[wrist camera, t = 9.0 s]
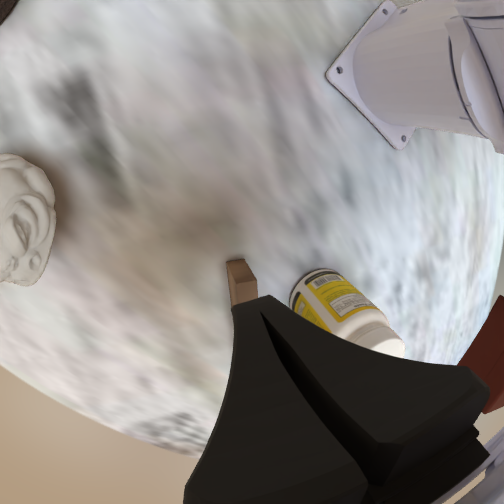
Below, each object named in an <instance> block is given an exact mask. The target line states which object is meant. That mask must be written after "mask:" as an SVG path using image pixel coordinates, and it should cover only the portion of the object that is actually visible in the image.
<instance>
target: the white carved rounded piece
mask: <svg viewBox="0 0 504 504" xmlns="http://www.w3.org/2000/svg"><path fill="white" fill-rule="evenodd" d="M54 203H55V194H54V189H53V187H52V185H51V183H50V181H49V180H48V179H47V176H46V174H45V172H44V171H43V170H42V169H41V168H39V167H36V166H35V165H33V164H31V163H29V162H27V161H26V160H24V159H23V158H22V157H20V156H18V155H15V154H10V153H4V154H0V282H2V281H7V282H9V283H10V282H13V283H14V284H18V285H21V286H31V285H33V284H35V283H36V282H37V281H38V279H39V278H40V277H41V275H42V274H43V272H44V270H45V267H46V264H47V262H48V259H49V256H50V252H51V246H52V242H53V238H54V234H55V228H56V221H57V219H56V212H55V210H53V209H54Z"/></svg>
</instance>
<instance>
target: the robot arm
mask: <svg viewBox="0 0 504 504" xmlns="http://www.w3.org/2000/svg"><path fill="white" fill-rule="evenodd" d="M383 11H384V13H385V14H384V13H383ZM337 67H338V68H339V69H340V74H339V73H337V71H336V68H337ZM326 77H327V79H328V80H329V81H330V82H331V83H332V84H333V85H334V86H335V87H336V88H337V89H338V90H339V91H340V92H341V93H342V94H343V95H345V96H346V97H347V98H348V99H349V100H350V101H351V102H352V103H353V104H354V105H355V106H356V107H357V108H358V109H359V110H360V111H361V112H362V113H363V114H364V115H365V116H366V117H367V119H368V120H369V121H370V122H371V123H372V124H373V125H374V126H375V127H376V128H377V129H378V130H379V131H380V132H381V134H382V135H383V136H384V137H385V138H386V139H387V140H388V141H389V142H390V144H391V145H392V146H393V147H394V148H395V149H396V150H402V149H403V148H404V147H405V145H406V144H407V142H408V141H409V139H410V137H411V136H412V134H413V132H414V131H415V129H416V127H418V128H426V129H433V130H440V131H447V132H453V133H459V134H465V135H471V136H476V137H481V138H486V139H489V140H490V141H491V142H492V143H493V146H494V148H495V151H496V152H497V153H501V154H504V0H423V1H420V2H417V3H413V4H410V5H407V6H403V7H400V8H397V7H396V5H395V4H394V3H393V2H391V1H390V0H386V1H384V2H383V3H382V4H381V5H380V6H379V7H378V9H377V10H376V11H375V12H374V13H373V15H372V16H371V17H370V18H369V19H368V21H367V22H366V23H365V24H364V26H363V27H362V28H361V29H360V30H359V32H358V33H357V34H356V35H355V37H354V38H353V39H352V40H351V42H350V43H349V44H348V45H347V47H346V48H345V49H344V50H343V52H342V53H341V54H340V55H339V57H338V58H337V59H336V60H335V62H334V63H333V64H332V66H331V67H330V68H329V69H328V71H327V73H326ZM401 137H403V140H401ZM231 311H232V315H233V319H234V344H233V354H232V362H231V369H230V374H229V379H228V384H227V388H226V392H225V396H224V399H223V402H222V406H221V409H220V412H219V415H218V418H217V421H216V424H215V426H214V429H213V431H212V433H211V436H210V438H209V440H208V443H207V445H206V447H205V450H204V452H203V454H202V456H201V458H200V460H199V462H198V463H197V465H196V467H195V469H194V471H193V473H192V474H191V476H190V478H189V480H188V482H187V483H186V485H185V490H184V500H183V504H442V503H444V502H445V501H446V500H448V499H449V498H451V497H452V496H453V495H454V494H456V493H457V492H458V491H460V490H461V489H462V488H463V487H465V486H466V485H467V484H468V483H469V482H471V481H472V480H473V479H474V478H476V477H477V476H478V475H479V474H480V473H481V472H482V471H483V470H484V469H486V471H485V478H484V479H483V480H482V481H481V482H480V483H479V484H478V485H476V486H475V487H474V488H473V489H472V490H470V491H469V492H468V493H467V494H466V495H465V496H463V497H462V498H461V499H460V500H458V501H457V502H456V503H454V504H504V427H503V428H502V429H501V430H500V431H499V432H498V433H497V434H496V435H495V436H494V437H493V438H492V439H490V440H489V441H488V442H487V443H486V444H485V445H484V446H483V445H482V444H481V443H480V442H479V441H478V440H477V439H476V438H477V437H478V435H479V431H478V430H477V429H476V428H475V427H474V425H473V424H474V423H475V421H476V420H477V418H478V416H479V415H480V413H481V412H482V410H483V409H484V407H485V405H486V403H487V401H488V399H489V396H490V387H489V386H488V385H487V384H486V383H485V382H484V381H483V380H482V379H481V378H480V377H479V376H478V375H476V374H475V373H474V372H473V371H472V370H471V369H470V368H469V367H467V366H456V365H443V364H432V363H425V362H419V361H414V360H408V359H404V358H399V357H395V356H391V355H388V354H384V353H381V352H377V351H374V350H371V349H368V348H365V347H362V346H360V345H357V344H355V343H352V342H349V341H347V340H345V339H342V338H340V337H338V336H336V335H334V334H332V333H330V332H328V331H326V330H324V329H322V328H321V327H319V326H317V325H315V324H314V323H312V322H310V321H309V320H307V319H305V318H304V317H302V316H300V315H299V314H297V313H296V312H294V311H293V310H291V309H290V308H288V307H287V306H286V305H284V304H283V303H281V302H280V301H278V300H277V299H276V298H274V297H273V296H271V295H266V296H263V297H260V298H256V299H253V300H250V301H246V302H243V303H239V304H236V305H233V307H232V308H231Z"/></svg>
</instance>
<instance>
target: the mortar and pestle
mask: <svg viewBox="0 0 504 504" xmlns="http://www.w3.org/2000/svg"><path fill="white" fill-rule="evenodd" d="M15 1H16V0H0V23H1V22H2V20H3V19H4V18H5V17H6V15H7V14H8V13H9V12H10V10H11V8H12V7H13V5H14V3H15Z"/></svg>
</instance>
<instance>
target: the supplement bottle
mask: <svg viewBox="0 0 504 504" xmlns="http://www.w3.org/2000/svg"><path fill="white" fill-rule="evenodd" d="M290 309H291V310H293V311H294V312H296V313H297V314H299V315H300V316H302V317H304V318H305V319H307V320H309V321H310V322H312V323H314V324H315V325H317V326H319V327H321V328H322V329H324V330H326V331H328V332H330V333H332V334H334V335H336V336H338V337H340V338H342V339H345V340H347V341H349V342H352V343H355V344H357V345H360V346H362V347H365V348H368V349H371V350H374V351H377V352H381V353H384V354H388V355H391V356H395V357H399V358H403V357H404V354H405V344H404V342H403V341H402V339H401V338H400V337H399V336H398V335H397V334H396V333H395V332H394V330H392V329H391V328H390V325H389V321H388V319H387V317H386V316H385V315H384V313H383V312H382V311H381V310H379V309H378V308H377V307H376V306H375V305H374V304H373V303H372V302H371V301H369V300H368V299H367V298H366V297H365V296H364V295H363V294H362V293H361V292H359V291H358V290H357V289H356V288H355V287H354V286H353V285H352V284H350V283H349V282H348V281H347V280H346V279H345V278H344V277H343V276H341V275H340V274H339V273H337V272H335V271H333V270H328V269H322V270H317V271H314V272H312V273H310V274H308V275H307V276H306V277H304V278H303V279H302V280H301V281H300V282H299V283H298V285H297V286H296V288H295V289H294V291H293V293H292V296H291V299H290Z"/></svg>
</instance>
